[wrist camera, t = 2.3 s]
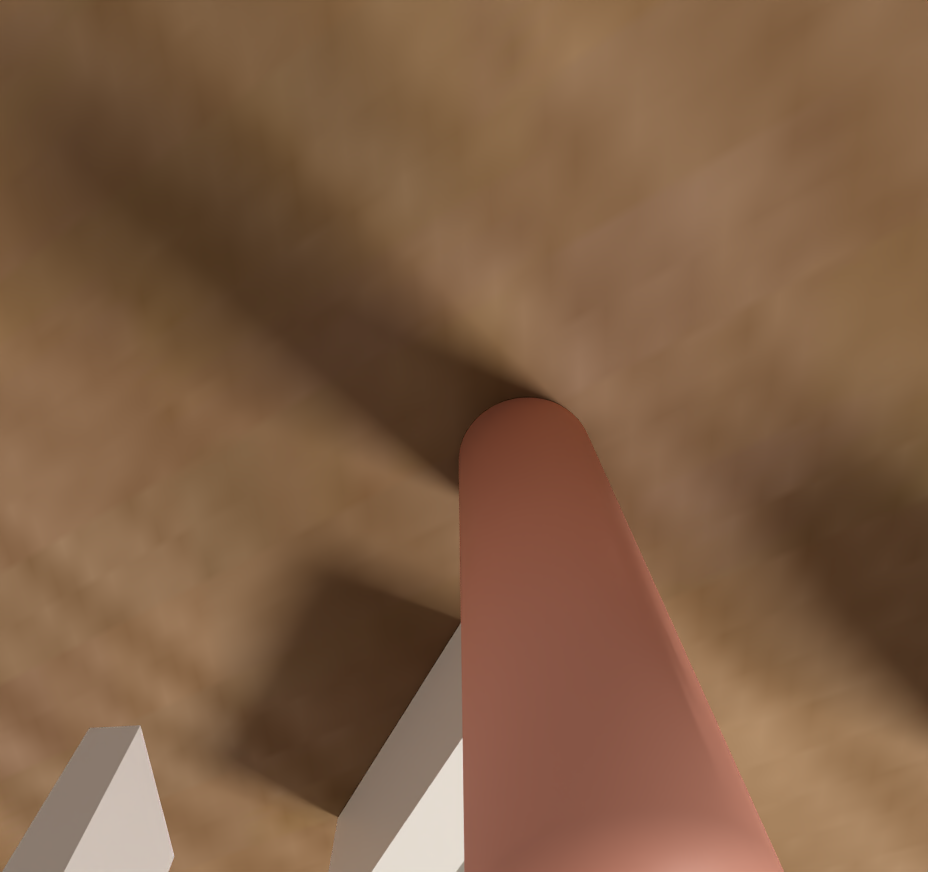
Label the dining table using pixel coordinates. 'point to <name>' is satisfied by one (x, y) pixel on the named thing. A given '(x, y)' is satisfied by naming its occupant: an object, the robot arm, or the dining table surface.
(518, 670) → the peg
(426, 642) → the dining table surface
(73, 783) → the robot arm
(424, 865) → the socket block
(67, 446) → the dining table surface
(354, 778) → the dining table surface
